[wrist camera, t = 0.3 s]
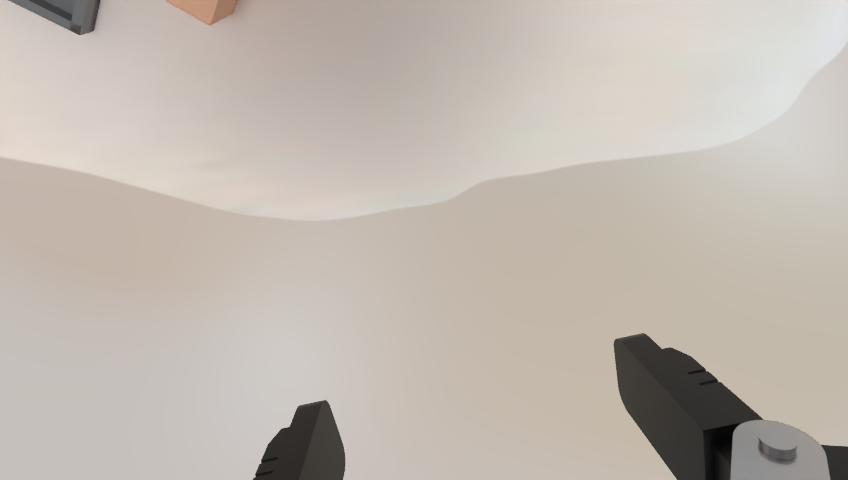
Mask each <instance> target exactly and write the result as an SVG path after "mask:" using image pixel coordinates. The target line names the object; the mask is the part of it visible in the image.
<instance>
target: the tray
mask: <svg viewBox="0 0 848 480" xmlns="http://www.w3.org/2000/svg"><path fill="white" fill-rule="evenodd" d="M9 1H11V2H13V3H15V4H17V5H19V6H21V7H23V8H26V9H28V10H30V11H32V12H34V13H36V14H38V15H40V16H42V17H44V18H46V19H48V20H50V21H52V22H54V23H56V24H58V25H60V26H62V27H64V28H66V29H68V30H70V31H72V32H74V33H76V34H78V35H82V34H85V33H89V32H92V31H93V30H94V26H95V21H96V16H97V12H98V7H99V3H100V0H9Z"/></svg>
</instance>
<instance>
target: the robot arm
mask: <svg viewBox="0 0 848 480" xmlns="http://www.w3.org/2000/svg"><path fill="white" fill-rule="evenodd" d="M614 352H615V361H616V370H617V378H618V387H619V392H620V395H621V399H622V401H623V404H624V405H625V408H626V410H627V411H628V413H629V414H630V415H631V417H632V418H633V420H634V421H635V422H636V423H637V425H638V426H639V428H640V429H641V430H642V432H643V433H644V435H645V436H646V437H647V439H648V440H649V442H650V443H651V444H652V446H653V447H654V448H655V450H656V451H657V453H658V454H659V455H660V457H661V458H662V459H663V461H664V462H665V464H666V465H667V466H668V468H669V469H670V470H671V472H672V473H673V475H674V476H675V477H676V479H677V480H848V447H845V446H844V447H843V446H828V445H820V444H819V443H818V442H817V441H816V440H815V439H814V438H813V437H811V436H810V435H808V434H807V433H805V432H803V431H801V430H800V429H797V428H795V427H793V426H790V425H787V424H784V423H780V422H776V421H769V420H763V419H762V418H761V417H760V416H759V415H758V414H757V413H755V412H754V411H753V410H752V409H751V408H750V407H749V406H747V405H746V404H745V403H744V402H743V401H742V400H740V399H739V398H738V397H737V396H736V395H735V394H733V393H732V392H731V391H730V390H729V389H728V388H727V387H725V386H724V385H723V384H722V383H721V382H718V380H717V379H716V378H715V377H714V376H713V375H712V374H711V373H709V372H706V370H705V368H704V367H702V366H701V365H700V364H699V363H698V362H697V361H696V360H694V359H693V358H692V357H691V356H689V355H687V354H684V353H682V352H680V351H678V350H675V349H673V348H665V349H661V348H660V347H659V346H658V345H657V344H656V343H655V342H654V341H653V340H652V339H651V338H650V337H648V336H647V335H646V334H644V333H642V334H638V335H633V336H628V337H623V338H619V339H616V340H615V341H614ZM261 462H262V463H261V464H260V465H259V467H258V470H257V472H256V474H255V475H256V477H255V478H254V479H253V480H343V476H344V471H345V452H344V447H343V444H342V440H341V437H340V434H339V431H338V429H337V425H336V423H335V420H334V417H333V414H332V411H331V408H330V405H329V403H328V402H327V401H326V400H324V401H319V402H314V403H310V404H305V405H300V406H298V408H297V410H296V412H295V415H294V418H293V420H292V423H291V425H290V427H288V428H283V429H281V430H280V431H279V433H278V434H277V435H276V436H275V437H274V438H273V439H272V441H271V442H270V443H269V444H268V446H267V448H266V451H265V453H264V456H263V458H262V460H261Z"/></svg>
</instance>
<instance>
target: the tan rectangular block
mask: <svg viewBox="0 0 848 480" xmlns="http://www.w3.org/2000/svg"><path fill="white" fill-rule="evenodd" d="M166 2H168V3H170V4H172V5H173V6H175V7H177V8H179V9H181V10H183V11H184V12H186V13H188V14H190V15H192V16H193V17H195V18H197V19H199V20H201V21H202V22H204V23H206V24H208V25H212V24H214V23H216V22H218V21H219V20H221V19H223V18H225V17H227V16H229V15H231V14H233V11H234V8H235V5H236V3H237V0H166Z"/></svg>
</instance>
